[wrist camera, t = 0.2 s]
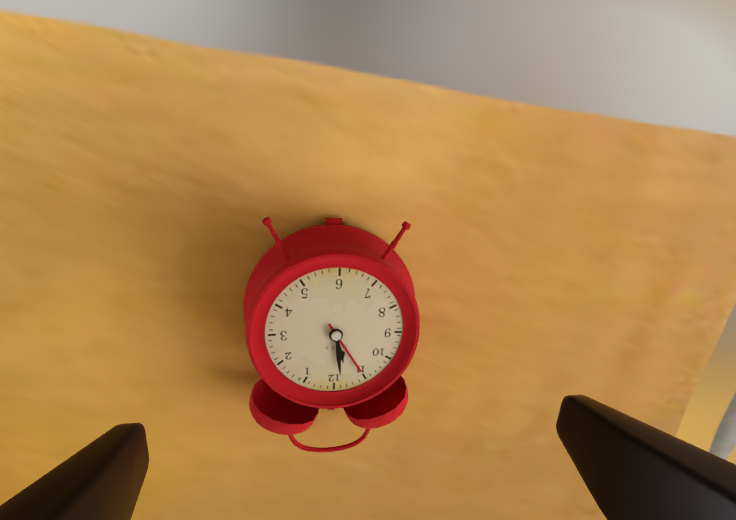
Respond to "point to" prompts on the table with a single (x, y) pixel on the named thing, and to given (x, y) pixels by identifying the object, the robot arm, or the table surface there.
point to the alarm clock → (330, 329)
